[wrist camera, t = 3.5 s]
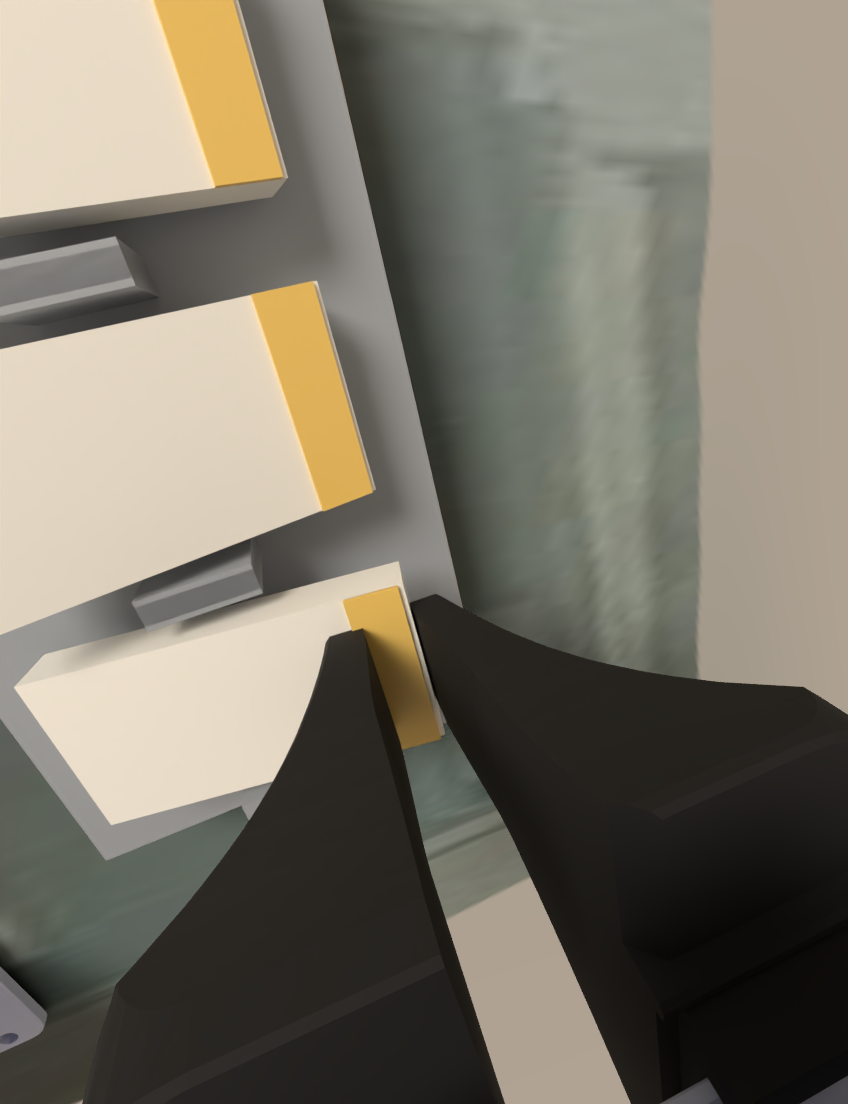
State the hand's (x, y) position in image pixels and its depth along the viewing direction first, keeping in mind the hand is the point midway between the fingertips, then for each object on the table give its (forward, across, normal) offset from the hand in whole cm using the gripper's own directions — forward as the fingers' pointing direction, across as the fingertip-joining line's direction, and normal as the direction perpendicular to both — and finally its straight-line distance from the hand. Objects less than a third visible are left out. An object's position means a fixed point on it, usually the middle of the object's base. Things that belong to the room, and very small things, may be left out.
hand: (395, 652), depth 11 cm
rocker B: (0, +3, -5) cm, 6 cm away
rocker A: (0, +3, 0) cm, 3 cm away
